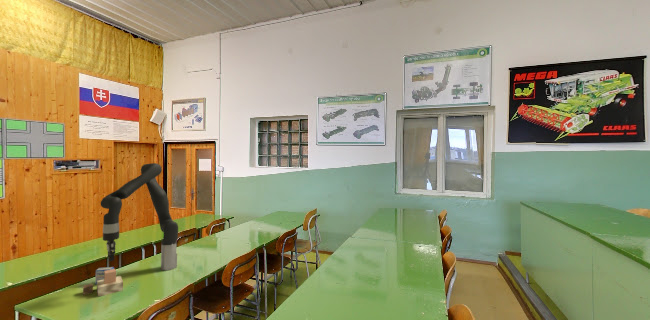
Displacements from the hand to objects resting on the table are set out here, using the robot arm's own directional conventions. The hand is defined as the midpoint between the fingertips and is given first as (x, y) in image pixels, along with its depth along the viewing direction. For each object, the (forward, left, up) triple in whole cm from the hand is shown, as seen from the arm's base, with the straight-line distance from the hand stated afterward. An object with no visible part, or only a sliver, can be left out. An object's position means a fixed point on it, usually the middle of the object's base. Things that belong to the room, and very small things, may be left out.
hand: (110, 258), depth 157 cm
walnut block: (+10, -4, -18) cm, 21 cm away
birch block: (0, 0, -18) cm, 18 cm away
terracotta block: (0, 0, -13) cm, 13 cm away
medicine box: (+2, -14, -19) cm, 23 cm away
